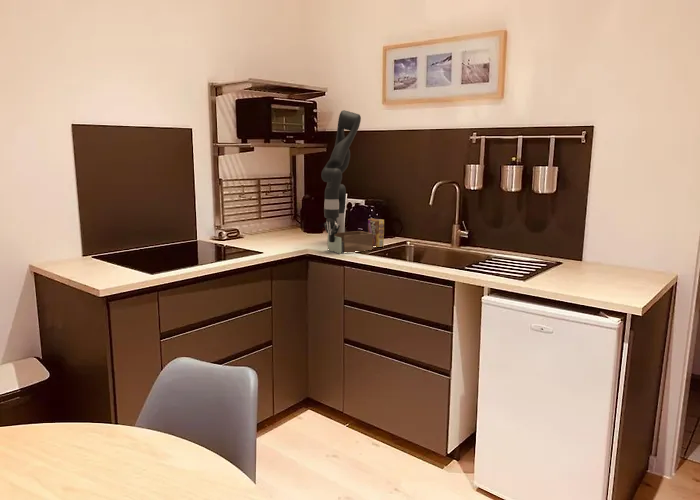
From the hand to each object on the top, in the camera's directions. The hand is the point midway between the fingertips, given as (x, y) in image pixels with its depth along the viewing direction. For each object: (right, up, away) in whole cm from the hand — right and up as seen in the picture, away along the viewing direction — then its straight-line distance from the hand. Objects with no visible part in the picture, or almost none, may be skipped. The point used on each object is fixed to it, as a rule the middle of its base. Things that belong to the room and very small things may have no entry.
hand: (331, 241), depth 272 cm
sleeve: (+10, -4, +7) cm, 13 cm away
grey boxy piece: (+9, -5, +6) cm, 12 cm away
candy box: (+23, -3, +18) cm, 30 cm away
